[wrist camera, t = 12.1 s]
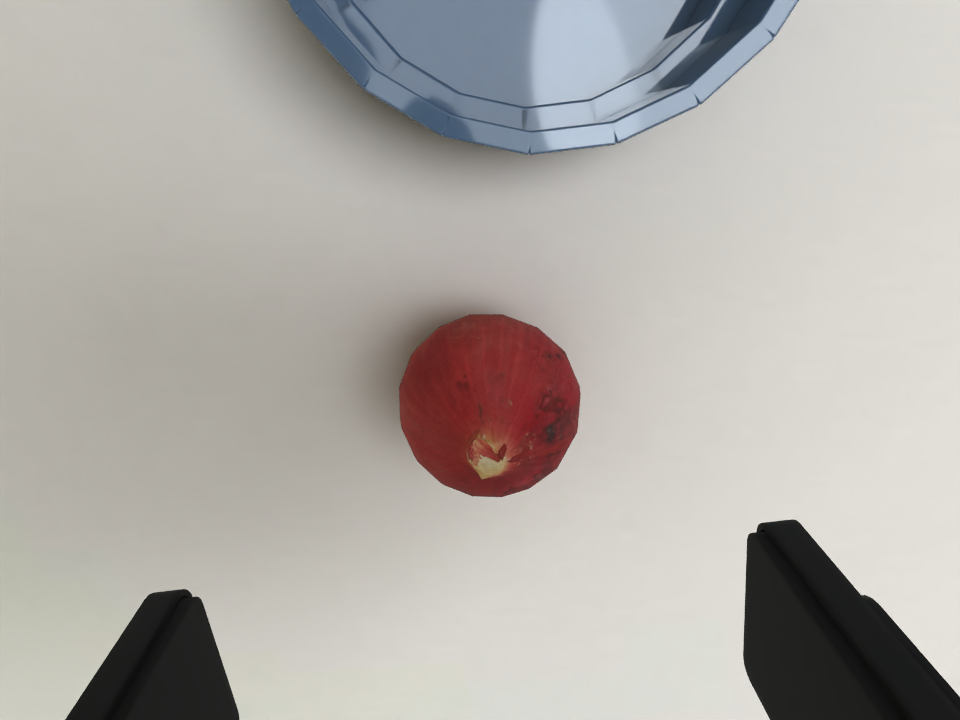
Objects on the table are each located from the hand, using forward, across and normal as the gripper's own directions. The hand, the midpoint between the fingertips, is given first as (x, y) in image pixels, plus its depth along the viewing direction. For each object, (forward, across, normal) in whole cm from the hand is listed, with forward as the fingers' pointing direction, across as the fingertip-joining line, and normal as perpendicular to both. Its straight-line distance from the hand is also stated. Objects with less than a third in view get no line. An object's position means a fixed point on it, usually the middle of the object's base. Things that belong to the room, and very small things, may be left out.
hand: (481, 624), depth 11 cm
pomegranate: (+14, -1, +1) cm, 14 cm away
